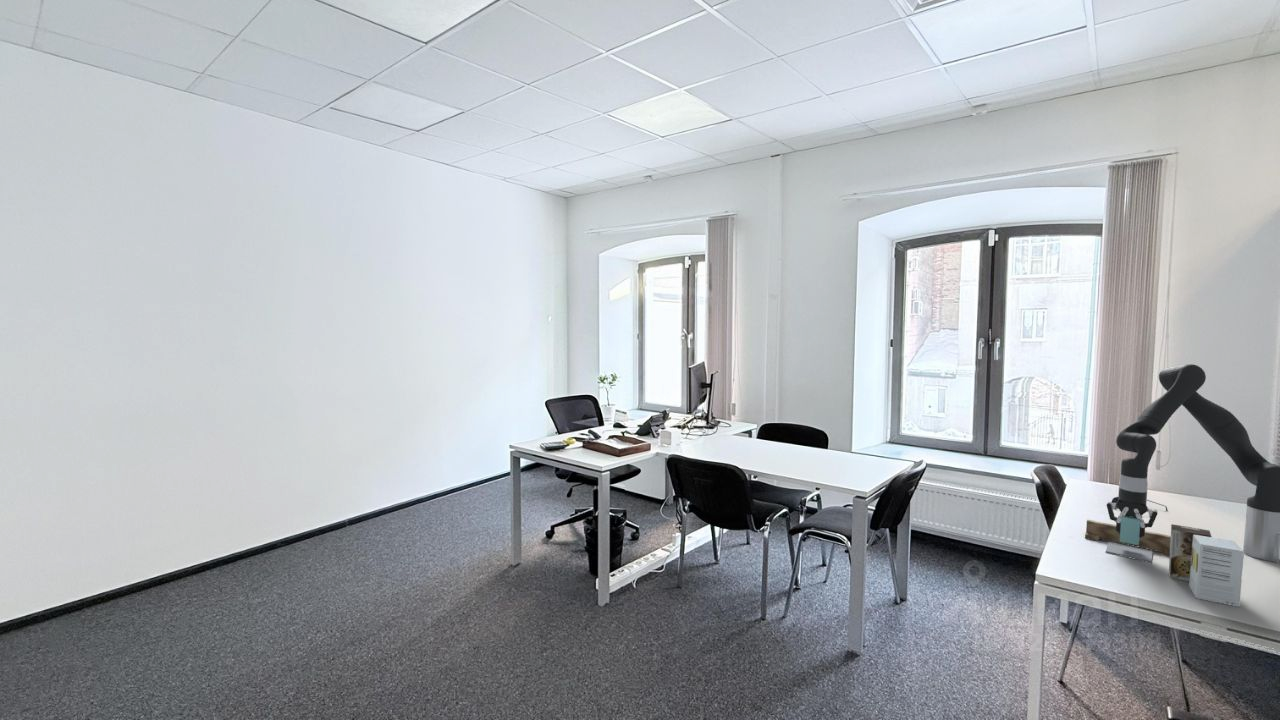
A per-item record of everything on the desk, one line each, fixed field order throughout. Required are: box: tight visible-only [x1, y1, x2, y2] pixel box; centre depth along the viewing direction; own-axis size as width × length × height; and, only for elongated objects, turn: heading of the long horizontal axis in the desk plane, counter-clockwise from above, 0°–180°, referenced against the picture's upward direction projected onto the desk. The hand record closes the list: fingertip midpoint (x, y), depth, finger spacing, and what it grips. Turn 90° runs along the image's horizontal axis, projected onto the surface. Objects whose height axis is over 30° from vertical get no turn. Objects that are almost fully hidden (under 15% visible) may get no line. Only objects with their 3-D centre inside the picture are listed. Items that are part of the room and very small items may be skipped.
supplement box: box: [1188, 535, 1245, 608], centre depth 165 cm, size 10×9×17 cm
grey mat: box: [1105, 541, 1154, 563], centre depth 197 cm, size 12×12×1 cm
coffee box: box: [1168, 523, 1213, 582], centre depth 177 cm, size 9×6×16 cm
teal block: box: [1120, 516, 1140, 545], centre depth 197 cm, size 5×5×9 cm
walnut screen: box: [1084, 519, 1171, 557], centre depth 204 cm, size 26×8×6 cm, turn 45°
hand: (1129, 534), depth 197 cm, fingers closed on teal block, 5 cm apart
